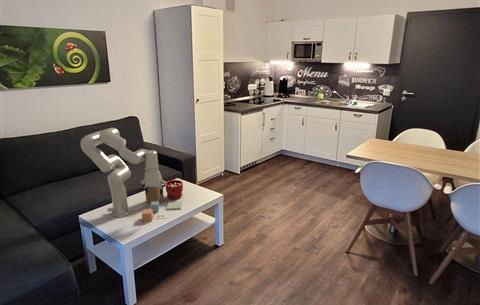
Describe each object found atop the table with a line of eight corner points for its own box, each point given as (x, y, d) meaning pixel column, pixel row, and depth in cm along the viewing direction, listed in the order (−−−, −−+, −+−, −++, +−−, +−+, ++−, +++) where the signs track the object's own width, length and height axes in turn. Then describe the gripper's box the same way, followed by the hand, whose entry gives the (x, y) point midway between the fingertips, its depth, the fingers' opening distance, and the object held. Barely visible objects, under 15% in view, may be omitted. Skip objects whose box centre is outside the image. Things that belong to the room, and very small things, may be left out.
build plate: (166, 210, 224) (166, 208, 224) (168, 203, 233) (168, 202, 233) (180, 209, 225) (180, 207, 225) (181, 202, 234) (181, 201, 234)
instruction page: (154, 218, 212) (154, 218, 212) (155, 214, 218) (155, 214, 217) (166, 218, 213) (166, 217, 213) (167, 213, 218) (167, 213, 218)
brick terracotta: (142, 221, 208) (141, 213, 207) (144, 217, 214) (143, 209, 212) (151, 221, 209) (151, 213, 207) (153, 217, 215) (152, 209, 213)
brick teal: (151, 212, 221) (150, 204, 219) (152, 209, 225) (151, 201, 223) (158, 212, 221) (157, 204, 219) (159, 208, 226) (158, 201, 224)
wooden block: (158, 205, 231) (156, 180, 225) (146, 204, 233) (143, 179, 227) (164, 199, 240) (162, 175, 234) (152, 198, 242) (149, 174, 236)
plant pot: (163, 199, 240) (162, 185, 237) (171, 192, 252) (170, 178, 249) (178, 201, 236) (177, 187, 233) (186, 194, 248) (185, 180, 245)
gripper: (137, 171, 201) (139, 195, 206) (163, 171, 200) (165, 196, 205) (141, 166, 208) (143, 190, 213) (167, 167, 207) (168, 191, 212)
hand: (154, 193), depth 209 cm, fingers open, 9 cm apart
